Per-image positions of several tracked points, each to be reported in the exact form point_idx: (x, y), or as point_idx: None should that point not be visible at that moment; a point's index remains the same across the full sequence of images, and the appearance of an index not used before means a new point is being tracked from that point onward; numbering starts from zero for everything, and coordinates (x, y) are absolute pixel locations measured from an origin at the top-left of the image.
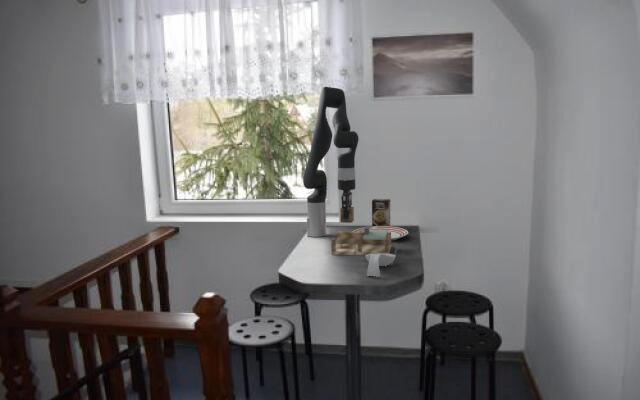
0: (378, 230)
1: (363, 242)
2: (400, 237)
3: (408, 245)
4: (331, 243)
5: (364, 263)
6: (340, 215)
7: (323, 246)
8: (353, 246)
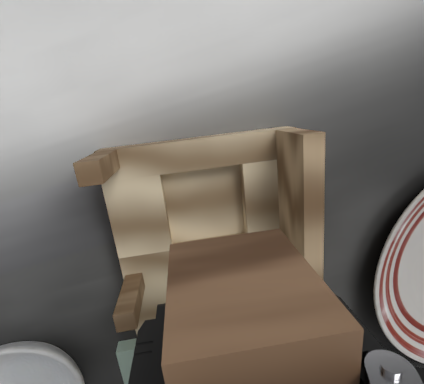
0: None
1: None
2: (413, 350)
3: None
4: (83, 159)
5: (25, 316)
6: (168, 287)
7: (293, 39)
8: (245, 218)
